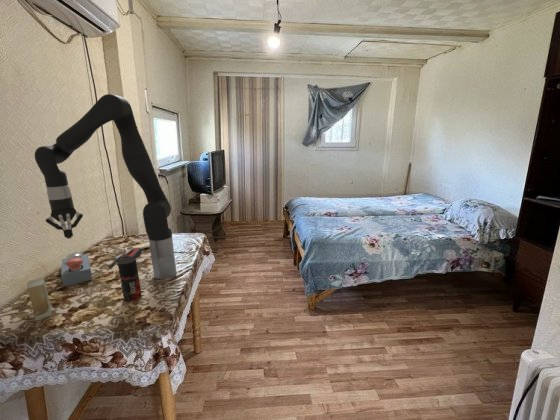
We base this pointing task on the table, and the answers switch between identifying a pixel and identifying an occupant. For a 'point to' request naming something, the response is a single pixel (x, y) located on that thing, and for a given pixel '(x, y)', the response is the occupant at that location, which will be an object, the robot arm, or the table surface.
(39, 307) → the skincare box
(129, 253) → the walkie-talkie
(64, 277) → the press block
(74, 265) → the red plunger
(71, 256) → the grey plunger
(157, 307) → the table surface
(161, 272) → the robot arm
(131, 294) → the deodorant
